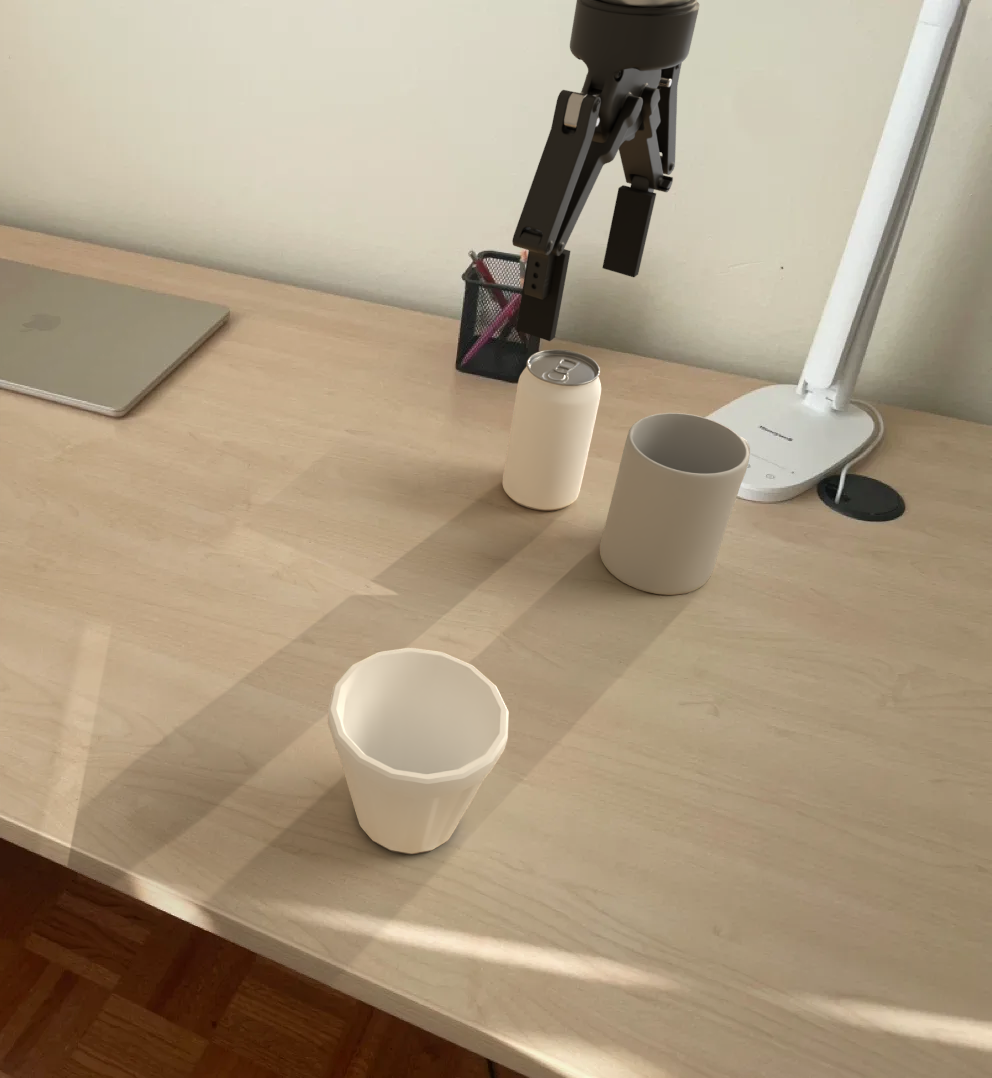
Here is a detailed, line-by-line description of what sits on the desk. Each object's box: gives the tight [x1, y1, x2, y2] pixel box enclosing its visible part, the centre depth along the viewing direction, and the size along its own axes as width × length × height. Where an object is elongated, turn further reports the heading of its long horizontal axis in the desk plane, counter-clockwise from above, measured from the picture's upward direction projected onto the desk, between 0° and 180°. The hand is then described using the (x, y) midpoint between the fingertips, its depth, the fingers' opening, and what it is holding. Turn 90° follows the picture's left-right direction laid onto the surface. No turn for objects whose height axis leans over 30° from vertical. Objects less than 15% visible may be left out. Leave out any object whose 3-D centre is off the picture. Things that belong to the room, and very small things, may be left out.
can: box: [502, 348, 602, 512], centre depth 86 cm, size 6×6×12 cm
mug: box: [599, 412, 751, 596], centre depth 80 cm, size 12×8×11 cm
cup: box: [327, 647, 510, 856], centre depth 61 cm, size 10×10×9 cm
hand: (579, 301), depth 80 cm, fingers open, 13 cm apart
